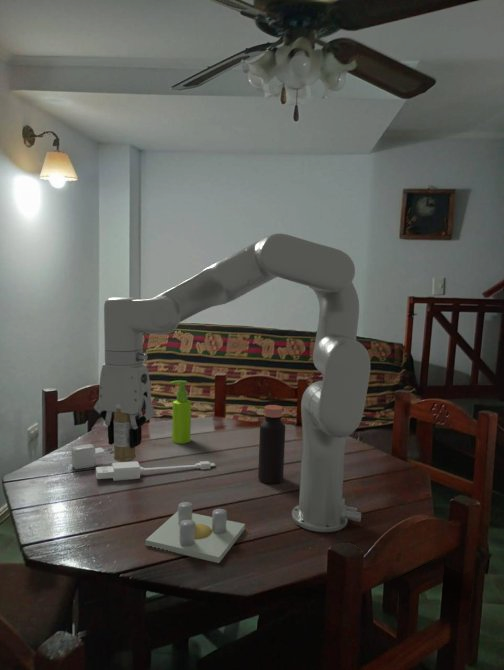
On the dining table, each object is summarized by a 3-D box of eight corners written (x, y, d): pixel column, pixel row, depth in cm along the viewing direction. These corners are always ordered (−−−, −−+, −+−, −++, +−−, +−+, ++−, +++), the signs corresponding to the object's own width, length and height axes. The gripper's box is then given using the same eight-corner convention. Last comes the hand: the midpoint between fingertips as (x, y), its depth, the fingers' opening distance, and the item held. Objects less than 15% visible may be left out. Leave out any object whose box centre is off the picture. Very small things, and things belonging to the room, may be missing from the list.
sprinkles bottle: (130, 453, 108) (129, 392, 106) (139, 459, 105) (139, 396, 103) (109, 458, 105) (109, 395, 104) (119, 464, 102) (118, 400, 100)
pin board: (244, 529, 108) (245, 506, 107) (218, 563, 95) (219, 537, 94) (178, 515, 113) (178, 493, 113) (145, 545, 100) (145, 520, 100)
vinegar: (287, 478, 136) (290, 406, 134) (274, 486, 131) (278, 412, 128) (266, 472, 140) (269, 402, 138) (253, 480, 134) (255, 407, 132)
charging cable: (216, 473, 141) (217, 462, 141) (96, 482, 129) (97, 470, 128) (211, 467, 146) (212, 456, 145) (95, 475, 133) (95, 463, 133)
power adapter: (110, 459, 146) (110, 439, 145) (115, 464, 142) (115, 444, 141) (70, 465, 140) (70, 445, 140) (74, 471, 136) (74, 450, 136)
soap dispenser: (167, 438, 166) (168, 379, 164) (188, 437, 168) (189, 378, 166) (170, 444, 160) (171, 383, 158) (191, 442, 163) (193, 382, 160)
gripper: (169, 358, 103) (169, 444, 105) (100, 352, 109) (101, 434, 111) (150, 363, 96) (150, 455, 98) (77, 357, 102) (79, 444, 104)
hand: (124, 443), depth 104 cm, fingers closed on sprinkles bottle, 4 cm apart
